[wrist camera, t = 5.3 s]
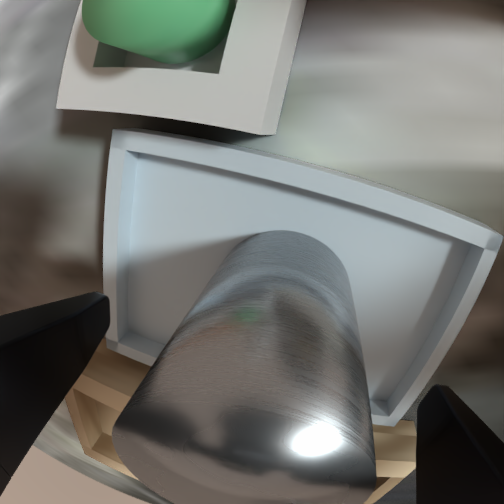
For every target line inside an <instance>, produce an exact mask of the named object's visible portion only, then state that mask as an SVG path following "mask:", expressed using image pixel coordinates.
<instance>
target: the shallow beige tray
mask: <svg viewBox="0 0 504 504" xmlns="http://www.w3.org/2000/svg"><path fill="white" fill-rule="evenodd" d="M150 368H151V366H149V365H146V364H144V363H141V362H139V361H136V360H134V359H131V358H129V357H127V356H124V355H122V354H120V353H117V352H115V351H113V350H110V349H108V348H107V345H106V339H104V338H103V339H102V341H101V342H100V344H99V346H98V347H97V349H96V351H95V353H94V354H93V356H92V358H91V360H90V361H89V363H88V365H87V366H86V368H85V370H84V371H83V373H82V374H81V375H80V377H79V378H78V380H77V381H76V382H75V384H74V385H73V386H72V388H71V389H70V391H69V392H68V393H67V395H66V396H65V400H66V403H67V406H68V409H69V412H70V415H71V418H72V421H73V424H74V427H75V430H76V432H77V435H78V438H79V440H80V443H81V445H82V448H83V450H84V453H85V454H86V455H88V456H90V457H91V458H93V459H95V460H97V461H99V462H101V463H103V464H105V465H107V466H109V467H111V468H113V469H115V470H117V471H119V472H122V473H124V474H126V475H128V476H130V477H133V478H135V479H137V478H136V477H135V476H134V475H133V474H132V473H131V472H130V471H129V470H128V468H127V467H126V466H125V465H124V464H123V462H122V461H121V459H120V458H119V456H118V454H117V453H116V451H115V448H114V445H113V442H112V429H113V426H114V424H115V422H116V420H117V418H118V417H119V415H120V414H121V412H122V411H123V409H124V408H125V406H126V404H127V403H128V401H129V400H130V398H131V397H132V395H133V394H134V392H135V391H136V389H137V388H138V386H139V385H140V383H141V382H142V380H143V379H144V377H145V376H146V374H147V372H148V371H149V369H150ZM372 426H373V436H374V447H375V459H376V474H377V480H376V487H375V489H374V491H373V493H372V494H371V496H370V497H369V498H368V500H367V501H365V502H364V503H363V504H373V503H374V502H376V501H377V500H378V499H379V498H381V497H382V496H383V495H385V494H386V493H387V492H388V491H389V490H391V489H392V488H393V487H394V486H396V485H397V484H398V483H399V482H400V481H401V480H403V479H404V478H405V477H406V476H407V475H408V474H409V473H410V472H412V471H413V470H414V469H415V468H416V437H417V434H416V430H415V425H414V421H407V420H399V422H398V423H397V424H396V425H395V426H394V427H392V426H384V425H376V424H372ZM137 480H139V479H137Z"/></svg>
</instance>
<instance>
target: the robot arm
mask: <svg viewBox="0 0 504 504" xmlns="http://www.w3.org/2000/svg"><path fill="white" fill-rule="evenodd" d="M109 326H110V300H109V297H108V296H106V295H104V294H101V293H99V292H91V293H87V294H83V295H79V296H76V297H72V298H68V299H64V300H60V301H56V302H52V303H48V304H44V305H40V306H36V307H33V308H29V309H25V310H21V311H17V312H13V313H9V314H5V315H1V316H0V496H1V494H2V493H3V491H4V489H5V488H6V486H7V484H8V483H9V481H10V479H11V477H12V476H13V474H14V472H15V471H16V469H17V468H18V466H19V465H20V463H21V461H22V460H23V458H24V457H25V455H26V454H27V452H28V451H29V449H30V448H31V446H32V444H33V443H34V441H35V440H36V438H37V437H38V435H39V434H40V432H41V431H42V429H43V428H44V426H45V425H46V424H47V422H48V421H49V419H50V418H51V416H52V415H53V413H54V412H55V410H56V409H57V408H58V406H59V405H60V403H61V402H62V400H63V399H64V398H65V396H66V395H67V393H68V392H69V391H70V389H71V388H72V386H73V385H74V384H75V382H76V381H77V380H78V378H79V377H80V375H81V374H82V373H83V371H84V370H85V368H86V366H87V365H88V363H89V361H90V360H91V358H92V356H93V354H94V353H95V351H96V349H97V347H98V346H99V344H100V342H101V341H102V339H103V337H104V336H105V334H106V332H107V331H108V329H109ZM416 504H504V443H503V442H502V441H501V440H500V439H499V438H498V437H497V436H496V434H495V433H494V432H493V431H492V430H491V429H490V428H489V427H488V426H487V425H486V424H485V423H484V422H483V421H482V420H481V419H480V418H479V417H478V416H477V415H476V414H475V413H474V412H473V411H472V410H471V409H470V408H469V407H468V406H467V405H466V404H465V403H464V402H463V401H462V400H461V399H460V398H459V397H458V396H457V395H456V394H455V393H454V392H453V391H452V390H451V389H450V388H449V387H448V386H446V385H440V384H436V385H434V386H432V387H431V389H430V390H429V392H428V393H427V394H426V396H425V397H424V398H423V400H422V401H421V402H420V404H419V406H418V409H417V437H416Z"/></svg>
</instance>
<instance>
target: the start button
mask: <svg viewBox="0 0 504 504" xmlns="http://www.w3.org/2000/svg"><path fill="white" fill-rule="evenodd" d="M235 8H236V4H235V0H83V1H82V20H83V23H84V26H85V28H86V30H87V31H88V33H89V34H90V35H91V36H92V37H93V38H95V39H96V40H98V41H100V42H102V43H105V44H108V45H111V46H115V47H118V48H121V49H124V50H127V51H130V52H133V53H136V54H138V55H141V56H144V57H147V58H150V59H152V60H155V61H158V62H161V63H167V64H179V63H185V62H189V61H192V60H195V59H197V58H200V57H202V56H204V55H205V54H207V53H208V52H210V51H211V50H213V49H214V48H215V47H216V46H217V45H218V44H219V43H220V42H221V41H222V40H223V39H224V38H225V37H226V35H227V34H228V32H229V30H230V27H231V23H232V19H233V15H234V12H235Z"/></svg>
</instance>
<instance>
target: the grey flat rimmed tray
mask: <svg viewBox="0 0 504 504" xmlns="http://www.w3.org/2000/svg"><path fill="white" fill-rule="evenodd" d="M273 230H287V231H295V232H299V233H303V234H306V235H309V236H311V237H313V238H315V239H317V240H319V241H321V242H322V243H323V244H325V245H326V246H328V247H329V248H330V249H331V250H332V251H333V252H334V253H335V254H336V255H337V256H338V258H339V259H340V260H341V262H342V264H343V265H344V267H345V269H346V272H347V274H348V277H349V281H350V286H351V290H352V295H353V300H354V306H355V311H356V316H357V322H358V327H359V333H360V339H361V345H362V351H363V357H364V364H365V370H366V377H367V385H368V392H369V400H370V408H371V417H372V424H376V425H384V426H392V427H394V426H395V425H396V424H397V423H398V422H399V420H400V419H401V418H402V416H403V415H404V414H405V413H406V411H407V410H408V409H409V407H410V406H411V405H412V403H413V402H414V401H415V399H416V398H417V397H418V395H419V394H420V392H421V391H422V390H423V388H424V387H425V385H426V384H427V383H428V381H429V380H430V378H431V377H432V375H433V374H434V372H435V371H436V369H437V368H438V366H439V365H440V363H441V361H442V360H443V358H444V357H445V355H446V353H447V352H448V350H449V349H450V347H451V345H452V344H453V342H454V340H455V338H456V337H457V335H458V333H459V331H460V330H461V328H462V326H463V324H464V323H465V321H466V319H467V317H468V315H469V313H470V311H471V309H472V307H473V306H474V304H475V302H476V300H477V298H478V296H479V293H480V291H481V289H482V287H483V285H484V283H485V281H486V279H487V276H488V274H489V272H490V270H491V267H492V265H493V263H494V260H495V258H496V255H497V253H498V251H499V248H500V245H501V243H502V240H503V238H504V236H502V235H501V234H499V233H498V232H497V231H495V230H494V229H492V228H490V227H489V226H487V225H486V224H484V223H482V222H479V221H477V220H475V219H472V218H470V217H468V216H465V215H463V214H460V213H458V212H455V211H453V210H450V209H448V208H445V207H443V206H440V205H438V204H435V203H432V202H430V201H427V200H424V199H422V198H419V197H416V196H413V195H411V194H408V193H405V192H402V191H399V190H396V189H393V188H390V187H387V186H384V185H381V184H378V183H375V182H372V181H369V180H366V179H363V178H360V177H356V176H353V175H350V174H346V173H343V172H340V171H336V170H333V169H329V168H326V167H322V166H319V165H315V164H311V163H308V162H304V161H300V160H296V159H292V158H288V157H284V156H280V155H276V154H272V153H268V152H264V151H259V150H255V149H251V148H246V147H242V146H237V145H232V144H227V143H222V142H217V141H212V140H207V139H202V138H196V137H191V136H185V135H179V134H173V133H167V132H160V131H154V130H147V129H140V128H121V129H113V131H112V138H111V145H110V154H109V163H108V172H107V183H106V196H105V212H104V236H103V292H104V295H106V296H108V297H109V300H110V326H109V329H108V331H107V332H106V345H107V348H108V349H110V350H113V351H115V352H117V353H120V354H122V355H124V356H127V357H129V358H131V359H134V360H136V361H139V362H141V363H144V364H146V365H149V366H152V365H153V363H154V362H155V360H156V359H157V357H158V356H159V354H160V353H161V351H162V350H163V348H164V347H165V345H166V344H167V342H168V341H169V339H170V338H171V336H172V335H173V333H174V332H175V331H176V329H177V328H178V326H179V325H180V323H181V322H182V320H183V319H184V317H185V316H186V314H187V313H188V311H189V310H190V308H191V307H192V305H193V304H194V302H195V301H196V299H197V298H198V297H199V295H200V294H201V292H202V291H203V289H204V288H205V286H206V285H207V283H208V282H209V280H210V279H211V277H212V276H213V275H214V273H215V272H216V270H217V269H218V267H219V266H220V264H221V263H222V261H223V260H224V259H225V257H226V256H227V255H228V253H229V252H230V251H231V250H232V249H233V248H234V247H235V246H236V245H237V244H239V243H240V242H242V241H243V240H245V239H247V238H249V237H251V236H253V235H256V234H259V233H262V232H267V231H273Z"/></svg>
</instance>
